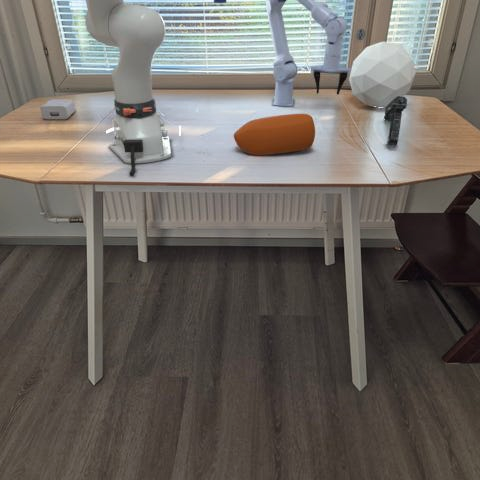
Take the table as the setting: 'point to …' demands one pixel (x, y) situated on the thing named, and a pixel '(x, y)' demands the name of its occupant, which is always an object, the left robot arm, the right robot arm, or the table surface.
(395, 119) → the futuristic handgun
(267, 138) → the orange tapered cylinder
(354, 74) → the decorative sphere
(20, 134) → the table surface
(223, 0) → the canister
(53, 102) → the charger
